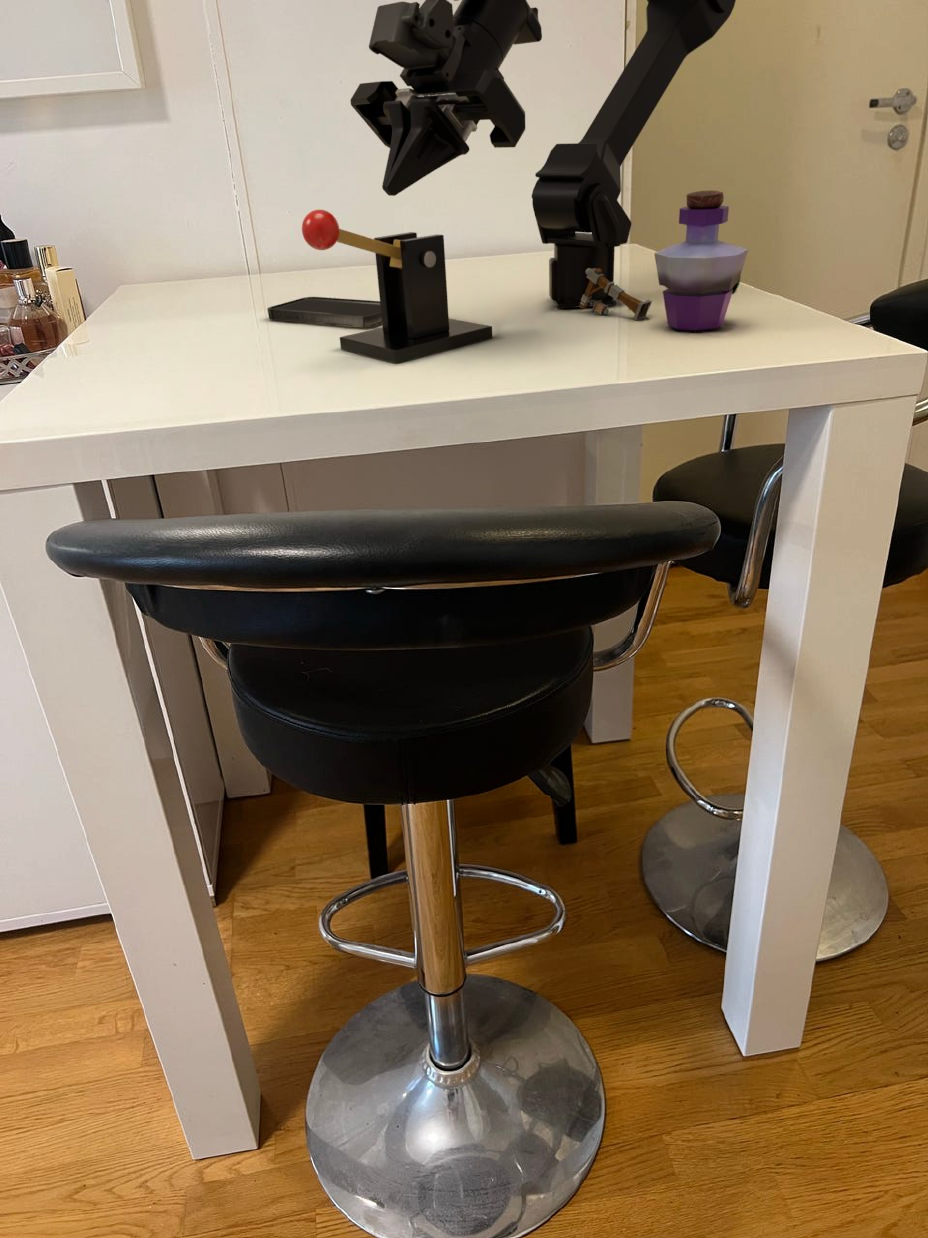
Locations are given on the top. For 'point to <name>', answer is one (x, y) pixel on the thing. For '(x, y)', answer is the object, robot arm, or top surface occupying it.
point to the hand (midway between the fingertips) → (387, 192)
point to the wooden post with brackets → (615, 291)
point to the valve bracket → (414, 306)
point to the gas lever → (344, 237)
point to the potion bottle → (700, 267)
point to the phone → (329, 311)
